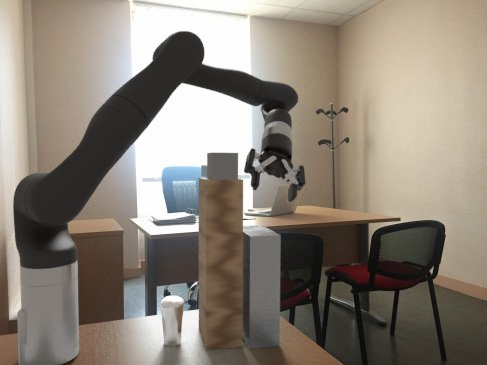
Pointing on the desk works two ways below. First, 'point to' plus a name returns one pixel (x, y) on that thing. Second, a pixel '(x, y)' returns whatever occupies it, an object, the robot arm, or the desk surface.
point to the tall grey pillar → (261, 287)
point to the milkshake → (172, 319)
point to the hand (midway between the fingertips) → (273, 193)
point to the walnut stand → (220, 263)
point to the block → (221, 166)
